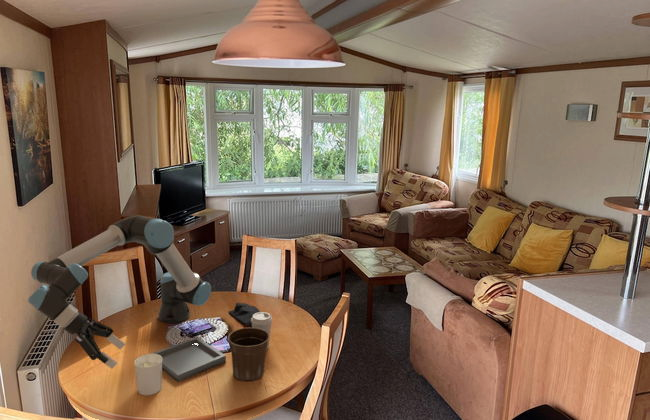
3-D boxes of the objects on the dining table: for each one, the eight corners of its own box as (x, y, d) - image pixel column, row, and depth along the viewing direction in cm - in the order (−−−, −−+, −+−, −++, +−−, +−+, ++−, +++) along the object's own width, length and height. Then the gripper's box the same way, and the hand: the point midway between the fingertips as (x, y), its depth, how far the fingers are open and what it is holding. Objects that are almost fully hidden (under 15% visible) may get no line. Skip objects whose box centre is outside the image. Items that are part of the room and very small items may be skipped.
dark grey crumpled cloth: (242, 329, 231) (241, 320, 230) (227, 312, 250) (226, 303, 248) (271, 323, 239) (271, 314, 238) (254, 306, 257) (254, 298, 256)
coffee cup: (268, 353, 209) (268, 321, 206) (247, 350, 211) (247, 319, 208) (274, 343, 218) (275, 312, 215) (254, 340, 220) (255, 310, 217)
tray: (150, 360, 200) (150, 353, 200) (197, 342, 216) (197, 336, 215) (178, 382, 186) (177, 375, 185) (225, 361, 201) (225, 355, 200)
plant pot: (244, 358, 204) (244, 323, 201) (276, 368, 198) (277, 332, 194) (219, 377, 190) (219, 339, 187) (253, 388, 183) (254, 350, 180)
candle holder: (140, 382, 185) (138, 353, 182) (166, 381, 186) (165, 353, 183) (132, 397, 175) (130, 367, 173) (159, 396, 176) (158, 367, 173)
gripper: (74, 312, 181) (119, 346, 187) (51, 344, 157) (103, 382, 163) (88, 298, 181) (132, 332, 187) (67, 328, 157) (118, 367, 163)
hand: (119, 356), depth 175 cm, fingers open, 13 cm apart
